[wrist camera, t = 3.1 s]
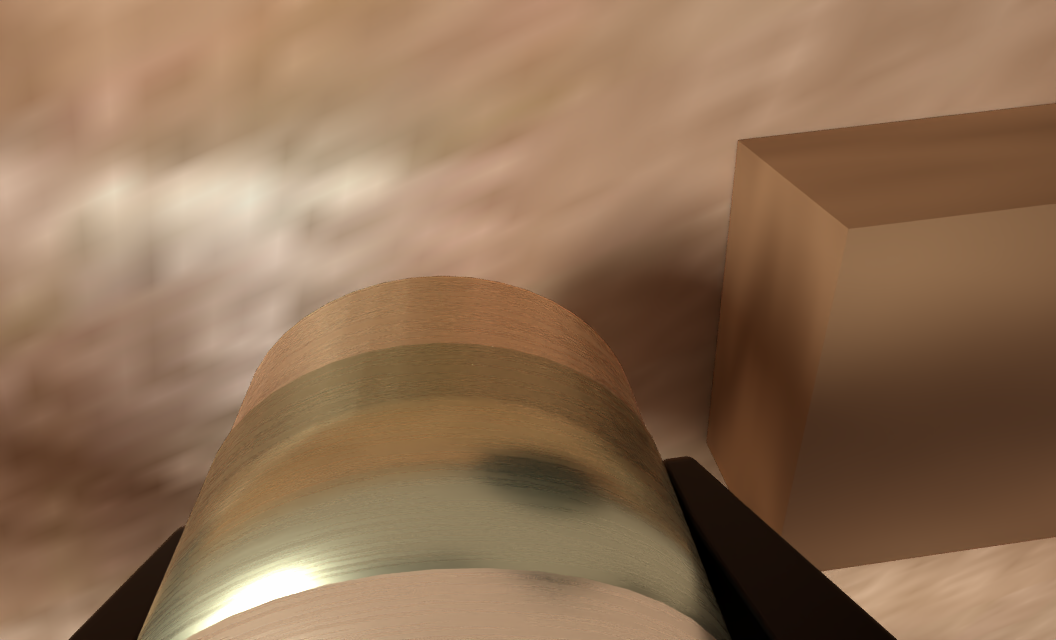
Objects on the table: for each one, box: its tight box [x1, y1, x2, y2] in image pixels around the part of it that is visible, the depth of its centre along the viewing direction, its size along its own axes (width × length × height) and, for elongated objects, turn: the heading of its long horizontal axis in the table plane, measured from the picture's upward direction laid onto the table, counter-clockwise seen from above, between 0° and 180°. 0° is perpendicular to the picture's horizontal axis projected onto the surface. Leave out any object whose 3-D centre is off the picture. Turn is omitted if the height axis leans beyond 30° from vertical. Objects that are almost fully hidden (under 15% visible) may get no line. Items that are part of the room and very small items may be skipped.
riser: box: [706, 103, 1056, 571], centre depth 13 cm, size 8×8×4 cm
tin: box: [137, 276, 732, 640], centre depth 7 cm, size 6×6×6 cm
